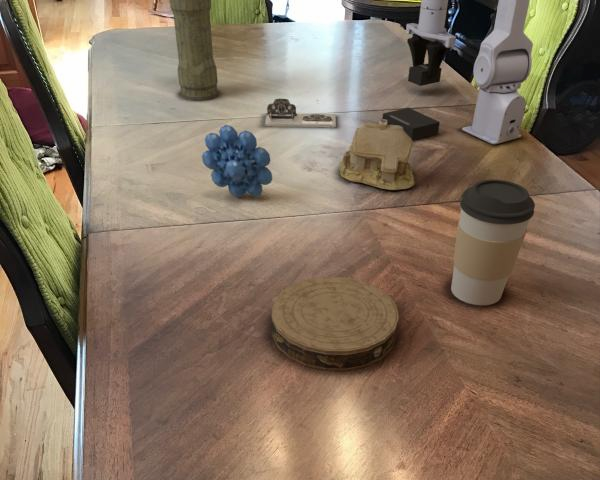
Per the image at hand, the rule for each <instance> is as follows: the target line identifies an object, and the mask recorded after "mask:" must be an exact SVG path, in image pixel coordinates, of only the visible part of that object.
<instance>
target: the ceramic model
mask: <svg viewBox="0 0 600 480" xmlns="http://www.w3.org/2000/svg"><path fill="white" fill-rule="evenodd" d="M354 131H355V132H354V135H353V138H352V141H351V145H350V146H349V148H348V150H347V151H345V152H344V153H343V157H342V159H341V161H340V162H339V164H338V167H339V174H340V176H341V177H342V178H344V179H345V180H347V181H350V182H355V183H362V184H365V185H369V186H372V187H376V188H378V189H382V190H389V191H399V190H406V189H410V188H413V187H414V186H415V179H414V178H415V176H414V175H413V174H414V173H413V166H412V164H411V163H409V162H408V161H409V160H410V156H411V154H412V153H411V151H412V149H413V146H414V144H413V143H414V140H413V141H412V139H411V138H410V137H409V136H408V135H407V134H406V133H405V132H404V130H403V128H402V127H401V126H399V125H388V124H387V120H386V119H382V118H381V119H380V120H379V121H378V123H376V122H364V124H363V125H361V126H360V127H358V128H356V130H354Z"/></svg>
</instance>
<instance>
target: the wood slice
mask: <svg viewBox="0 0 600 480" xmlns="http://www.w3.org/2000/svg"><path fill="white" fill-rule="evenodd" d="M399 321H400V316H399V310H398V306H397V304H396V303H395V302H394V301H393V299H392V297H391V296H390V295H389V294H387V292H385V291H383V290H382V289H380V288H379V287H378V286H375V285H373V284H370V283H368V282H366V281H363V280H360V279H355V278H351V277H344V276H320V277H314V278H308V279H305V280H302V281H299V282H296V283H294V284H291V285H289V286H288V287H287V288H285V289H284V290H283V291H281V292H280V293H279V294H278V295H277V297H276V299H275V300H274V301H273V303H272V306H271V337H272V339H273V341H274V343H275V345H276V346H277V349H278V350H280V351H281V352H282V353H283V354H284V355H285V356H286V357H287V358H288V359H290V360H292V361H294V362H296V363H298V364H300V365H302V366H304V367H308V368H313V369H317V370H321V371H329V372H330V371H333V372H335V371H336V372H337V371H338V372H339V371H340V372H346V371H352V370H357V369H362V368H367V367H368V366H370V365H373V364H375V363H377V362H379V361H381V360H382V359H384V357H386V356H387V355H388V354H389V353H390V352H391V350H392V349H393V348H394V344H395V342H396V338H397V336H398V335H397V334H398V327H399Z"/></svg>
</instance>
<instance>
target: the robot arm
mask: <svg viewBox="0 0 600 480" xmlns="http://www.w3.org/2000/svg"><path fill="white" fill-rule="evenodd" d="M530 1H531V0H498V4H497V11H496V15H495V16H496V17H495V21H494V28H493V30H492V31H491V33H490V34H488V36H486V37H485V38H484V39H483V40H482V42H481V43H480V47H479V52H478V55H477V56H476V59H475V62H474V64H473V79H474V81H475V84H476V87H478V93H477V98H476V102H475V109H474V113H473V119H472V124H471V125H468V126H464V127H462V129H461V130H462V131H463V132H465V133H467V134H469V135H471V136H474V137H476V138H478V139H480V140H482V141H484V142H486V143H489V144H490V145H498V144H501V143H505V142H509V141H512V140H516V139H520V138H521V137H522V134H521V133H520V132H521V128H522V123H523V121H524V116H525V112H526V108H527V107H526V106H527V102H526V98H525V97H524V96H523V95H521V94H520V93H519V91H518V89H521V87H522V84H523V83H524V82H525V81H527V79H528V78H529V76H530V73H531V71H532V66H533V61H532V52H533V46H534V43H533V41H532V40H531V39H530V38H529V36H527V34H526V33H525V32H524V29H525V25H526V19H527V17H528V16H527V15H528V10H529V6H530ZM448 3H449V0H420V10H419V17H418V23H414V22H411V23H406V29H405V34H407V35H412V36H411V37H409V38H407V40H406V42H407V45H408V47H409V50H410V51H409V52H410V55H411V62H412V67H413V66H418V65H423V64H425V60H426V54H427V64H428V71H427V75H428V78H429V79H431V78H436V75H437V73H438V70H439V68H441V65H442V63H443V61H444V59H445V57H446V56H447V54H448V52H449V51H450V50H451V48H454V47H456V46H455V45H456V40H457V36H455V35H453V34H451V33H450V32H448V31H447V28H445V24H446V19H447V10H448V5H449V4H448ZM431 42H433V43H431Z"/></svg>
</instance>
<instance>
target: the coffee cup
mask: <svg viewBox="0 0 600 480" xmlns="http://www.w3.org/2000/svg"><path fill="white" fill-rule="evenodd" d="M459 206H460V213H459V218H458V220H457V226H456V227H457V228H456V235H455V236H456V237H455V245H454V252H453V271H452V278H451V285H450V286H451V287H450V291H451V293H452V294H453V296H454V297H456V298H457V299H458V300H459V301H462V302H464V303H466V304H469V305H475V306H490V305H493V304H496V303H498V302H499V301H500V300H501V298H502V295H503V293H504V290H505V288H506V285H507V282H508V280H509V277H510V275H511V274H512V272H513V270H514V267H515V264H516V261H517V258H518V256H519V253H520V250H521V248H522V245H523V242H524V239H525V237H526V234H527V228H528V226H529V223H530V220H531V218H533V216H534V215H535V208H536V204H535V201H534V199H533V198H532V197H531V196H530V193H529V191H528V190H527V188H525V187H524V186H523V185H520V184H519V183H515V182H513V181H509V180H504V179H493V178H491V179H484V180H483V179H482V180H480V181H477V182H475V183H474V184H473V186H471V187H468V188H467V189H465V190H464V191H463V192H462V195H461V199H460V202H459Z"/></svg>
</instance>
